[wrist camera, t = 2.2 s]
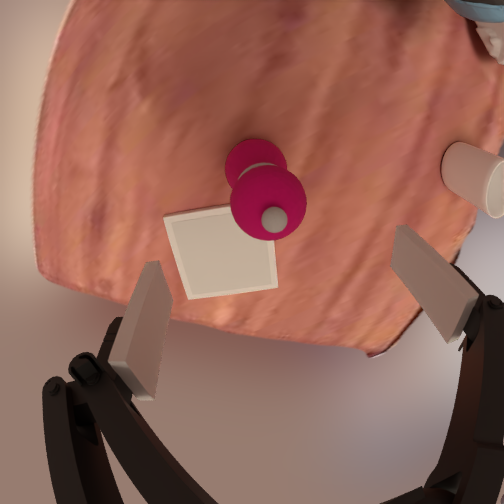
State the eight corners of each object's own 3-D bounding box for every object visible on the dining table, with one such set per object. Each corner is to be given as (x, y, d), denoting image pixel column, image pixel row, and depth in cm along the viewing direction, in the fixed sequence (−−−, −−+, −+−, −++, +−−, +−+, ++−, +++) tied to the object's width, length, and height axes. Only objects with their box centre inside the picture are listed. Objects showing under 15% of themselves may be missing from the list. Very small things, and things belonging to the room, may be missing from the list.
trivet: (164, 214, 38) (162, 217, 37) (268, 198, 38) (269, 200, 37) (189, 295, 46) (188, 300, 45) (277, 283, 46) (278, 288, 45)
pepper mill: (214, 163, 35) (197, 229, 18) (252, 124, 32) (276, 147, 15) (254, 197, 38) (274, 287, 21) (291, 160, 35) (348, 222, 18)
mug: (453, 130, 33) (502, 147, 23) (483, 165, 36) (525, 187, 26) (431, 175, 37) (477, 201, 27) (464, 205, 40) (503, 233, 30)
